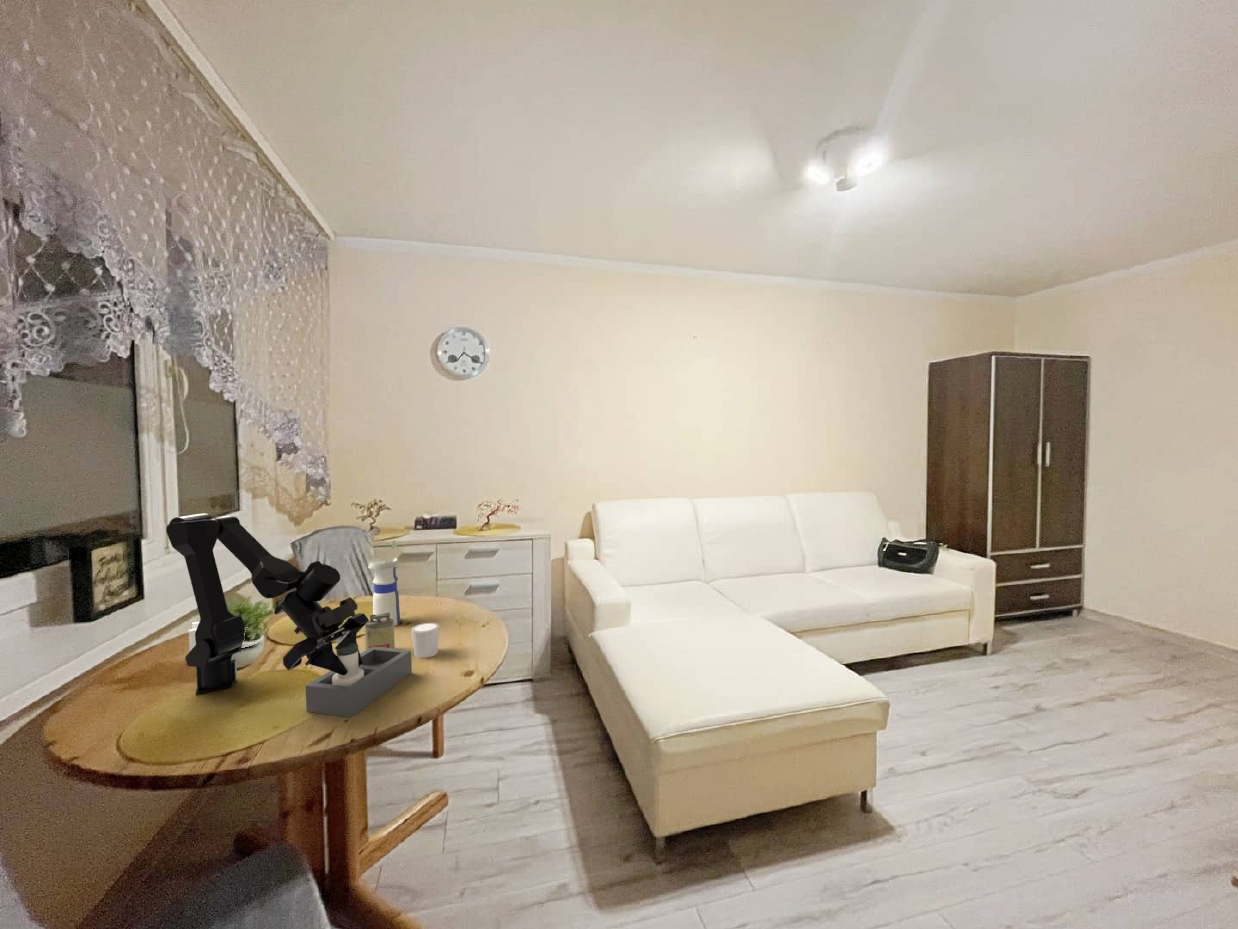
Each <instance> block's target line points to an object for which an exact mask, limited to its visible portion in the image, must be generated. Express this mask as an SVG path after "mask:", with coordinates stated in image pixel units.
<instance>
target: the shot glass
mask: <svg viewBox="0 0 1238 929" xmlns="http://www.w3.org/2000/svg"><path fill="white" fill-rule="evenodd" d="M439 636H440V624H439V623H436V622H423V623H419V624H416V625H415V626H412V627H411V638H412V645H413V653H414V657H415V658H417V657H418V659H426V658H427V657H428V658H430V657H431V658H432V657H433V656H435V655H437V654H438V651H439V638H440V637H439Z"/></svg>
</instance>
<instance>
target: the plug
mask: <svg viewBox="0 0 1238 929" xmlns="http://www.w3.org/2000/svg"><path fill="white" fill-rule="evenodd" d="M358 649H359V644H358V643H357V644H356V643H347V644H343V645H340V646H338V647H337V648H336V649H335V651H336V653H335V654H336V656H337V657H338V658H339V659H340V661H341V662H342V663H343V665H344V666H345V668H346V669H347V671H348V673H347V674H346V675H344V676H343V675H341V674H338V673H335V674H334V675H333V676H332V685H340V686H348V687H349V686H351V685H352V684H354V683H355V682H357V681H358V680H360V679H361V678H363V677H364V670H363V669H361V668H359V665H358Z"/></svg>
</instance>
